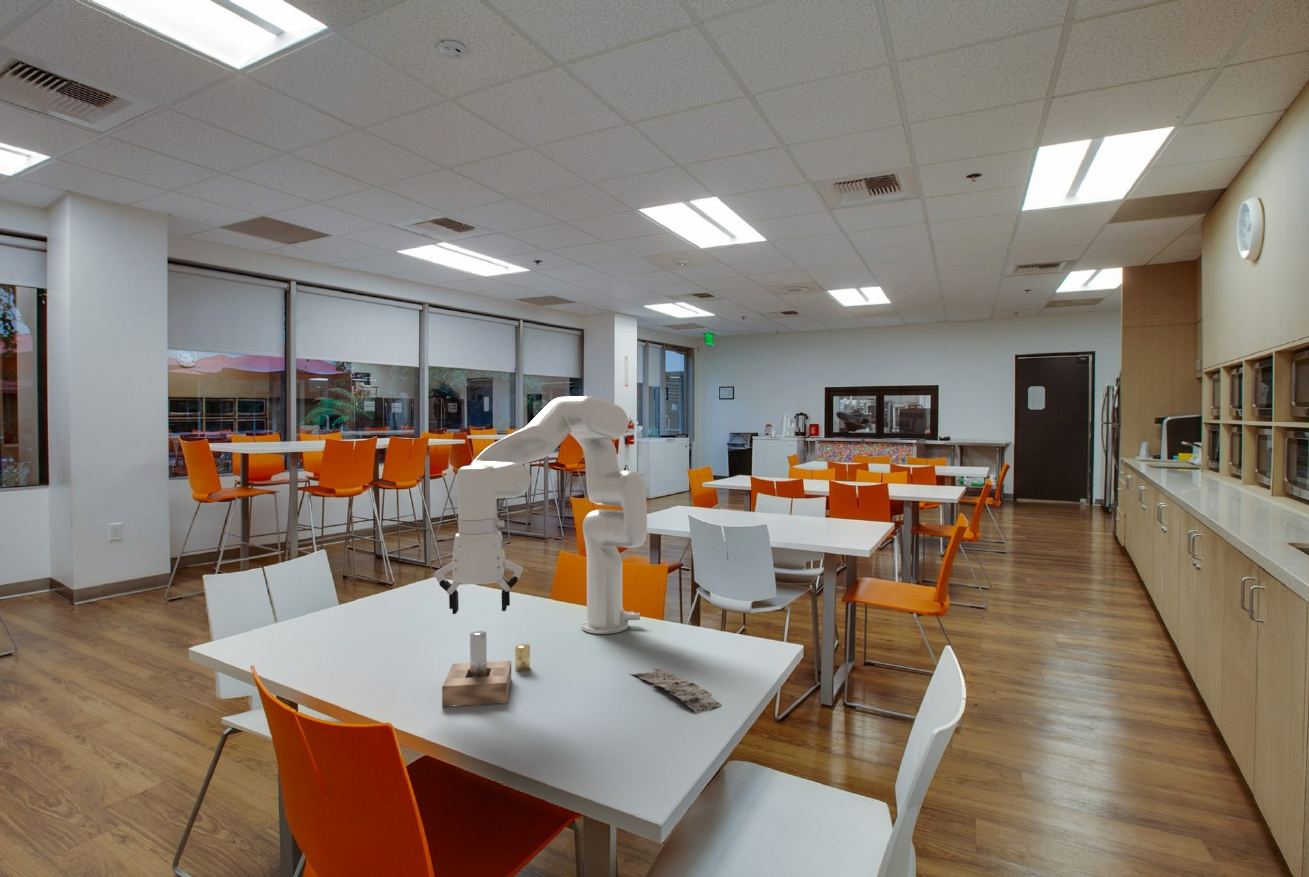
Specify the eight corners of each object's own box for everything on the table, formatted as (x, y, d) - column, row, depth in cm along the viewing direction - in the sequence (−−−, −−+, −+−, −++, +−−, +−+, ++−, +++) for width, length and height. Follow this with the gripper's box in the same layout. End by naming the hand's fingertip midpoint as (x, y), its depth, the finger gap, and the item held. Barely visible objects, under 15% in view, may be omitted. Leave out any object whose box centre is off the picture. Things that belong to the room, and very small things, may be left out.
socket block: (511, 679, 136) (511, 660, 136) (506, 703, 124) (506, 682, 124) (452, 682, 134) (452, 663, 134) (442, 707, 123) (442, 686, 123)
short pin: (530, 665, 144) (530, 643, 144) (529, 670, 141) (529, 648, 141) (515, 666, 144) (515, 644, 144) (514, 671, 141) (514, 648, 141)
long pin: (487, 688, 131) (487, 630, 131) (485, 695, 128) (485, 635, 128) (471, 689, 131) (471, 631, 131) (469, 696, 128) (468, 636, 127)
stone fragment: (698, 721, 118) (734, 705, 125) (698, 706, 118) (734, 690, 125) (613, 680, 137) (647, 668, 144) (613, 667, 137) (647, 655, 144)
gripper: (522, 521, 134) (524, 602, 135) (437, 525, 132) (439, 607, 132) (520, 528, 127) (522, 613, 127) (429, 531, 124) (432, 619, 125)
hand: (480, 610), depth 130 cm, fingers open, 9 cm apart
